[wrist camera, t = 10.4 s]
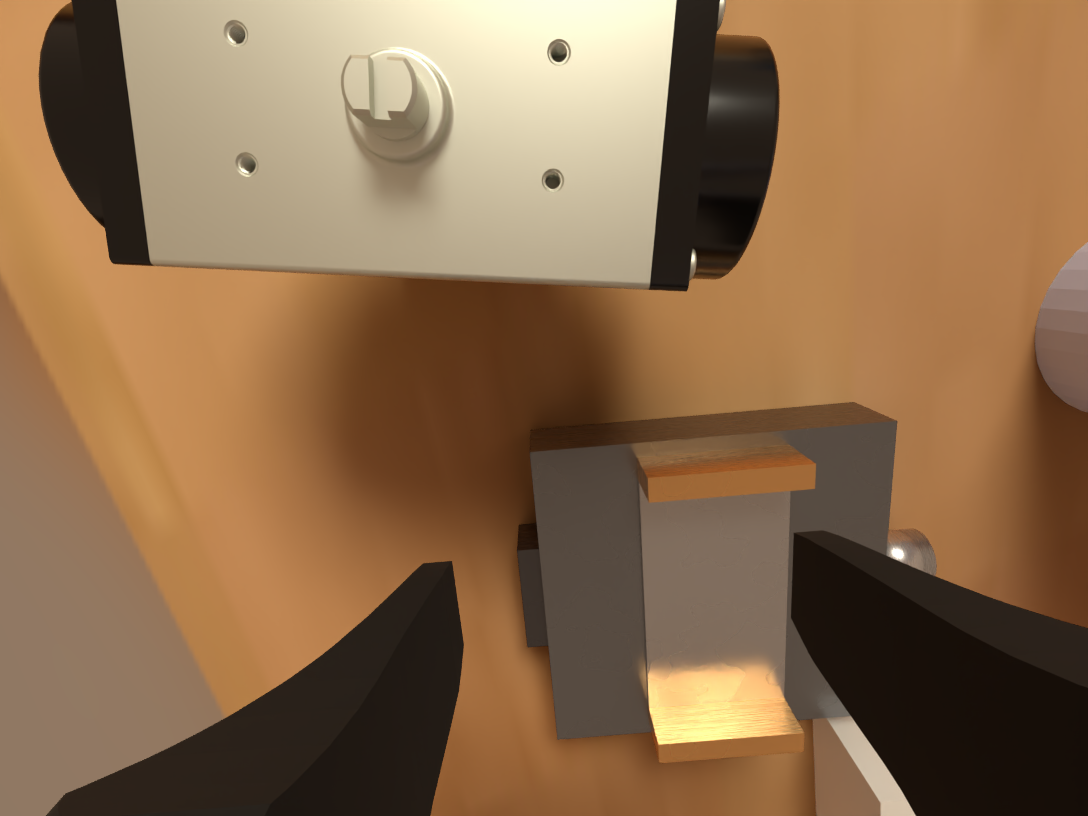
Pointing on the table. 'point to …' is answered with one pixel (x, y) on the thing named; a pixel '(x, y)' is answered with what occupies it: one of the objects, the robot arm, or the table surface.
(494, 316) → the table surface
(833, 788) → the block
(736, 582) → the motor housing
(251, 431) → the table surface
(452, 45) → the pneumatic valve
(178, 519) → the table surface
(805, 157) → the table surface
